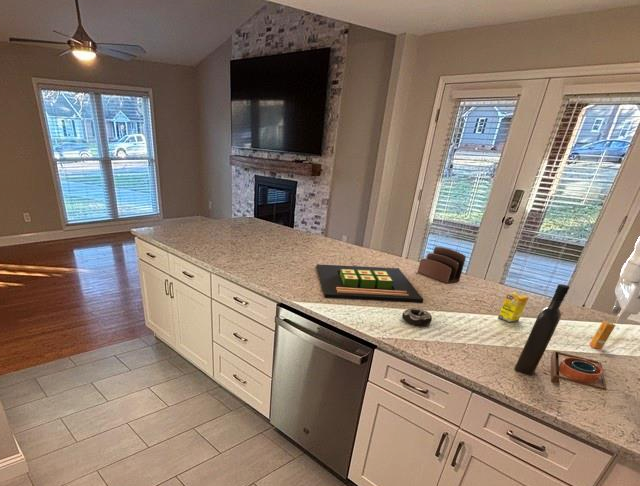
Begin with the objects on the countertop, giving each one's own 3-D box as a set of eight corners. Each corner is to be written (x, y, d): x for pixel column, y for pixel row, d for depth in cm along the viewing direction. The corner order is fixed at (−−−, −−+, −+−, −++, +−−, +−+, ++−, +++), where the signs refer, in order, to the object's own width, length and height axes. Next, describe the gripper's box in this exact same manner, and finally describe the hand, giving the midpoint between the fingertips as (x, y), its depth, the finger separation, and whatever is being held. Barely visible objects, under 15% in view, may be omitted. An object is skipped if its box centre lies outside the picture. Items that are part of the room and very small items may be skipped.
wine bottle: (535, 370, 141) (576, 286, 125) (531, 376, 138) (573, 290, 121) (517, 364, 144) (555, 281, 128) (513, 370, 141) (551, 285, 124)
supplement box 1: (497, 318, 178) (506, 293, 172) (506, 315, 180) (515, 292, 174) (509, 323, 173) (519, 299, 167) (518, 321, 176) (529, 296, 170)
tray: (597, 368, 144) (600, 362, 143) (602, 395, 130) (606, 389, 128) (550, 356, 150) (553, 350, 149) (550, 381, 135) (554, 375, 134)
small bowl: (588, 376, 138) (595, 364, 136) (589, 385, 133) (596, 373, 131) (565, 370, 141) (571, 358, 138) (566, 378, 136) (572, 367, 134)
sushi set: (324, 297, 190) (325, 288, 187) (316, 267, 227) (317, 259, 225) (422, 302, 189) (424, 293, 187) (397, 271, 227) (399, 263, 225)
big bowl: (593, 376, 139) (601, 363, 137) (596, 391, 131) (604, 378, 128) (555, 366, 144) (562, 354, 141) (556, 381, 136) (562, 368, 133)
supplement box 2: (602, 349, 157) (616, 325, 151) (593, 348, 157) (606, 324, 152) (598, 345, 159) (611, 321, 154) (588, 344, 160) (601, 320, 154)
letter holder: (429, 270, 231) (436, 244, 223) (459, 281, 217) (468, 254, 209) (416, 272, 227) (423, 246, 219) (446, 283, 213) (455, 256, 205)
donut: (432, 329, 166) (435, 319, 164) (402, 325, 168) (404, 316, 166) (428, 317, 176) (430, 308, 173) (400, 314, 177) (402, 305, 175)
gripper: (662, 285, 111) (635, 332, 118) (648, 266, 125) (625, 309, 133) (633, 281, 113) (608, 327, 121) (622, 263, 128) (601, 304, 136)
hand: (617, 317), depth 127 cm, fingers open, 8 cm apart
